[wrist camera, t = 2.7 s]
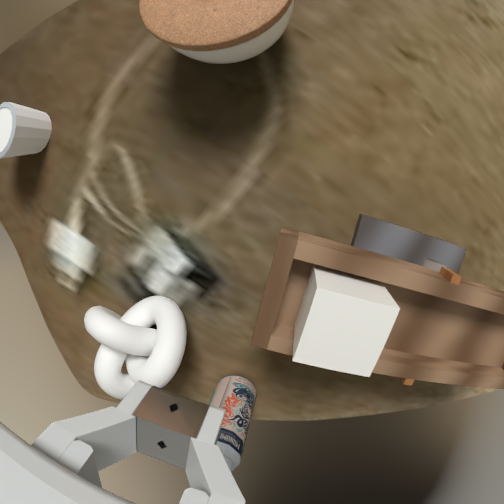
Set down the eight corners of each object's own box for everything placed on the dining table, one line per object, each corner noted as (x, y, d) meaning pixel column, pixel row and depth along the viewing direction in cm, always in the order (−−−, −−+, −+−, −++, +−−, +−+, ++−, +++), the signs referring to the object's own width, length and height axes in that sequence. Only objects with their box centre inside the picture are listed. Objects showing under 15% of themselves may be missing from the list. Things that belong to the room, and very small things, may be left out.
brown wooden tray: (502, 262, 26) (557, 292, 16) (463, 355, 30) (500, 405, 19) (291, 194, 29) (287, 203, 19) (261, 310, 32) (244, 367, 22)
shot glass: (25, 111, 31) (-11, 107, 24) (57, 103, 30) (19, 96, 23) (21, 159, 32) (-16, 161, 26) (52, 156, 32) (12, 156, 25)
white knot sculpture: (204, 381, 35) (180, 430, 27) (119, 363, 37) (83, 401, 28) (201, 295, 32) (168, 335, 24) (106, 283, 34) (59, 312, 26)
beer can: (265, 395, 34) (249, 471, 23) (233, 408, 35) (209, 480, 24) (241, 367, 34) (216, 442, 22) (209, 381, 35) (176, 452, 23)
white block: (380, 280, 21) (400, 308, 16) (357, 339, 22) (369, 377, 17) (313, 262, 21) (317, 287, 16) (294, 324, 22) (292, 360, 18)
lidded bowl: (171, 85, 28) (115, 50, 17) (183, -9, 25) (142, -61, 14) (297, 80, 26) (295, 30, 15) (296, -17, 23) (292, -82, 12)
